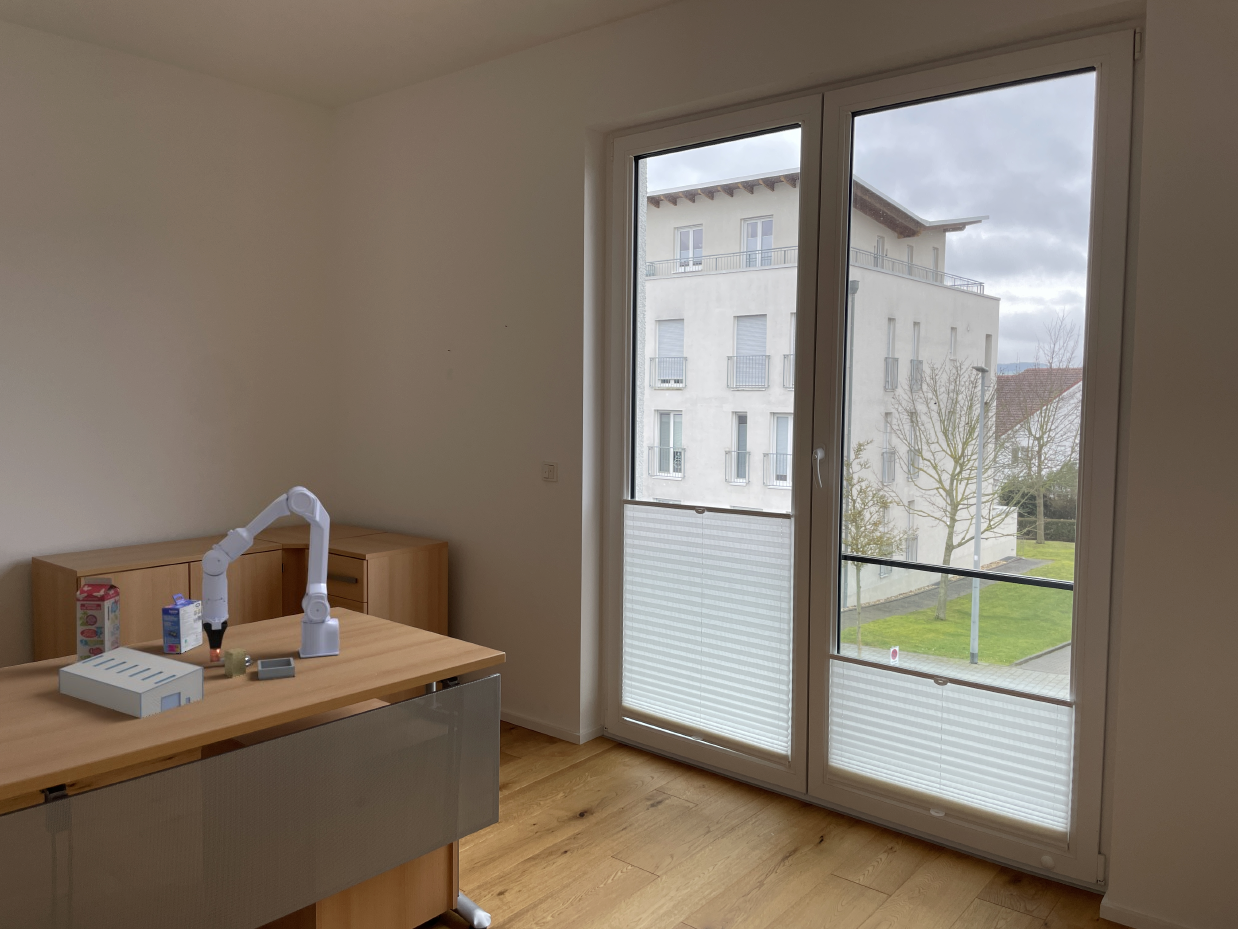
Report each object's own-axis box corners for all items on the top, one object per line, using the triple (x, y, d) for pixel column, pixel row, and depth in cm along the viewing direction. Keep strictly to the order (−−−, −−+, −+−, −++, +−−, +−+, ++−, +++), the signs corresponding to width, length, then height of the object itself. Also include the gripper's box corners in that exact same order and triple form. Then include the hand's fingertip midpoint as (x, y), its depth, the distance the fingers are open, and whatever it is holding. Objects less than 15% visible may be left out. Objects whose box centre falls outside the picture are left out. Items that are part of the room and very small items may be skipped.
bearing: (252, 660, 220) (252, 658, 220) (253, 666, 216) (253, 664, 216) (230, 662, 218) (230, 660, 218) (230, 668, 214) (230, 666, 214)
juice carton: (93, 661, 216) (91, 574, 215) (120, 662, 216) (119, 575, 215) (77, 669, 209) (76, 580, 208) (105, 670, 210) (104, 580, 208)
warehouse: (59, 694, 193) (58, 660, 193) (122, 677, 206) (122, 646, 205) (140, 720, 179) (140, 684, 178) (203, 700, 191) (203, 667, 191)
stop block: (238, 672, 211) (238, 647, 211) (246, 674, 209) (245, 650, 209) (224, 675, 208) (224, 650, 208) (232, 678, 206) (232, 653, 206)
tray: (292, 667, 215) (292, 657, 215) (294, 676, 208) (294, 666, 208) (257, 670, 212) (257, 660, 212) (258, 680, 205) (258, 669, 205)
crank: (250, 658, 220) (250, 644, 219) (250, 662, 216) (250, 648, 216) (210, 661, 216) (209, 647, 216) (209, 666, 212) (209, 651, 212)
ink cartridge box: (184, 643, 235) (183, 590, 234) (203, 644, 234) (203, 591, 233) (161, 653, 225) (160, 598, 224) (181, 654, 224) (181, 599, 223)
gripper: (196, 593, 222) (196, 645, 223) (198, 605, 209) (198, 660, 210) (226, 591, 225) (226, 642, 226) (230, 603, 212) (230, 657, 213)
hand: (215, 651), depth 218 cm, fingers closed
